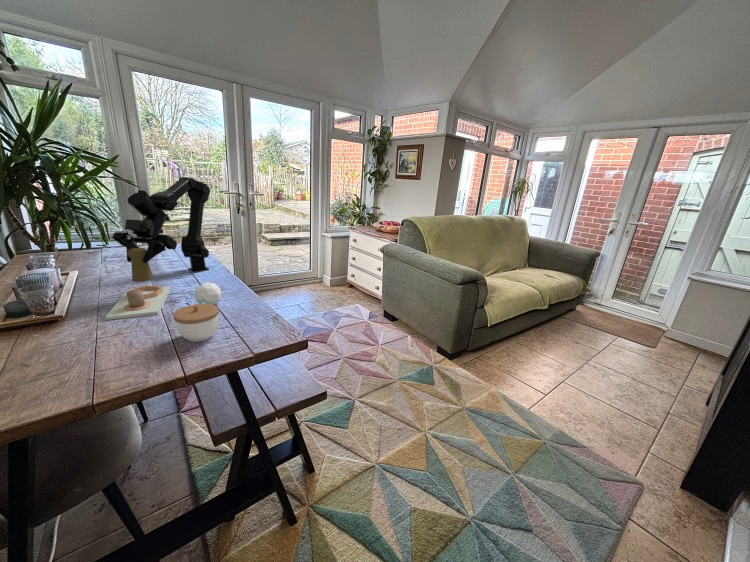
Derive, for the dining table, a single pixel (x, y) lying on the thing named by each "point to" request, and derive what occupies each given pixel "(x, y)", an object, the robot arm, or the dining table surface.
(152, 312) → the pin board
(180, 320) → the lidded jar
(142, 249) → the cork
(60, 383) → the dining table surface
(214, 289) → the faceted white bauble
